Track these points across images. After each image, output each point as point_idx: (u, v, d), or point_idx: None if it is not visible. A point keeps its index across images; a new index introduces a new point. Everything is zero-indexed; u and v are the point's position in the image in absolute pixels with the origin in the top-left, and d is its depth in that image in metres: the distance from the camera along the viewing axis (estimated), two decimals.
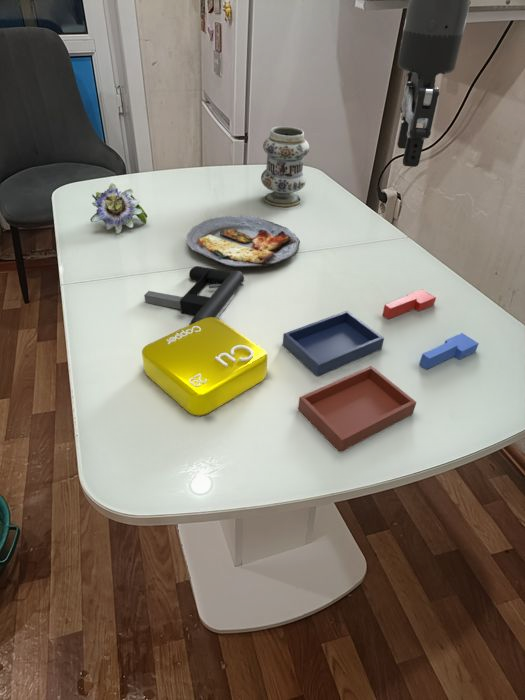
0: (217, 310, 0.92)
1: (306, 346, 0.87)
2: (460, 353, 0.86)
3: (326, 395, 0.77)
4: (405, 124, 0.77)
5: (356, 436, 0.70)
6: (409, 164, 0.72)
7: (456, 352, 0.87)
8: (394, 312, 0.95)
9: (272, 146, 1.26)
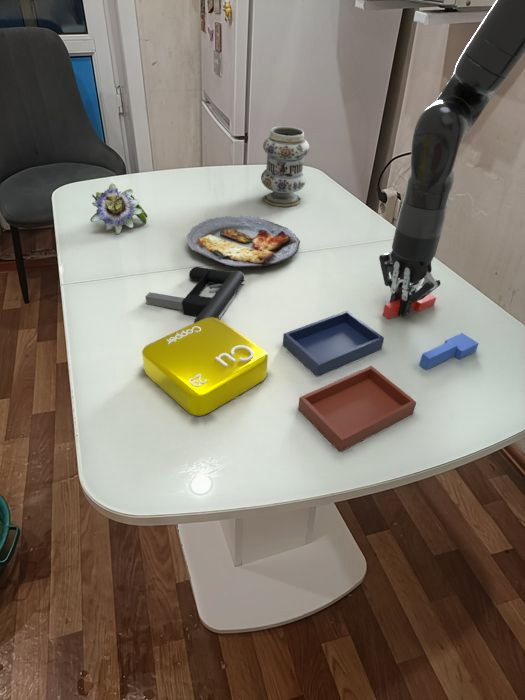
0: (219, 310, 0.92)
1: (306, 346, 0.87)
2: (460, 353, 0.86)
3: (326, 395, 0.77)
4: (397, 295, 0.96)
5: (356, 436, 0.70)
6: (403, 314, 0.96)
7: (456, 352, 0.87)
8: (394, 312, 0.95)
9: (272, 146, 1.26)
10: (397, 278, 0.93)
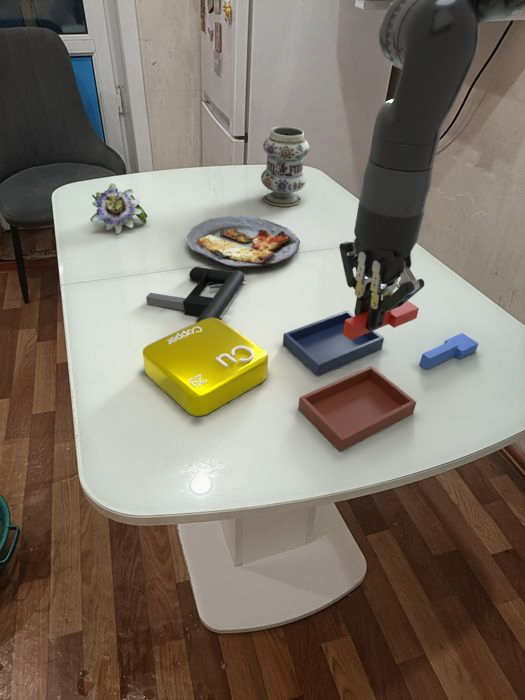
0: (221, 310, 0.92)
1: (306, 346, 0.87)
2: (460, 353, 0.86)
3: (326, 395, 0.77)
4: (364, 300, 0.67)
5: (356, 436, 0.70)
6: None
7: (456, 352, 0.87)
8: (358, 330, 0.68)
9: (272, 146, 1.26)
10: (363, 276, 0.65)
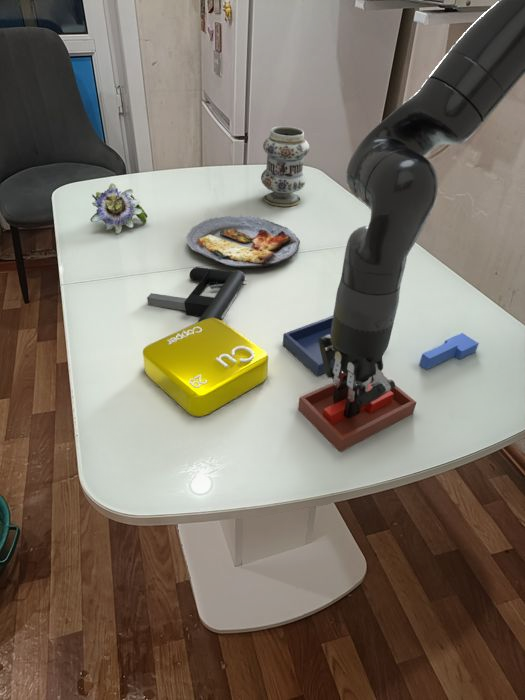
0: (222, 310, 0.92)
1: (306, 346, 0.87)
2: (460, 353, 0.86)
3: (326, 395, 0.77)
4: (341, 390, 0.72)
5: (356, 436, 0.70)
6: None
7: (456, 352, 0.87)
8: (337, 418, 0.72)
9: (272, 146, 1.26)
10: (340, 372, 0.69)
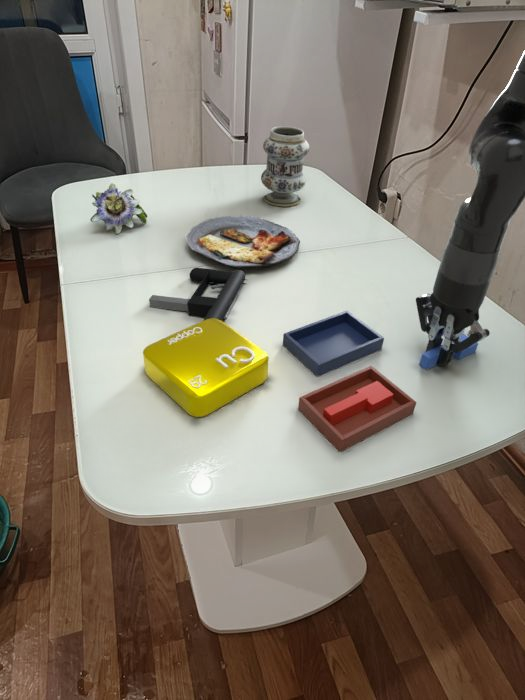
0: (226, 310, 0.92)
1: (306, 346, 0.87)
2: (460, 353, 0.86)
3: (326, 395, 0.77)
4: (436, 342, 0.84)
5: (356, 436, 0.70)
6: None
7: None
8: (337, 418, 0.72)
9: (272, 146, 1.26)
10: (437, 325, 0.82)
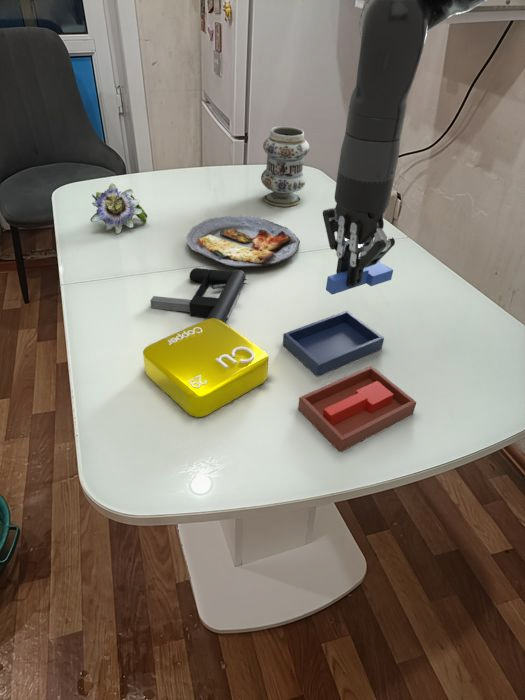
0: (228, 310, 0.92)
1: (306, 346, 0.87)
2: (371, 279, 0.79)
3: (326, 395, 0.77)
4: (344, 261, 0.77)
5: (356, 436, 0.70)
6: (353, 285, 0.77)
7: (368, 278, 0.79)
8: (337, 418, 0.72)
9: (272, 146, 1.26)
10: (343, 238, 0.74)
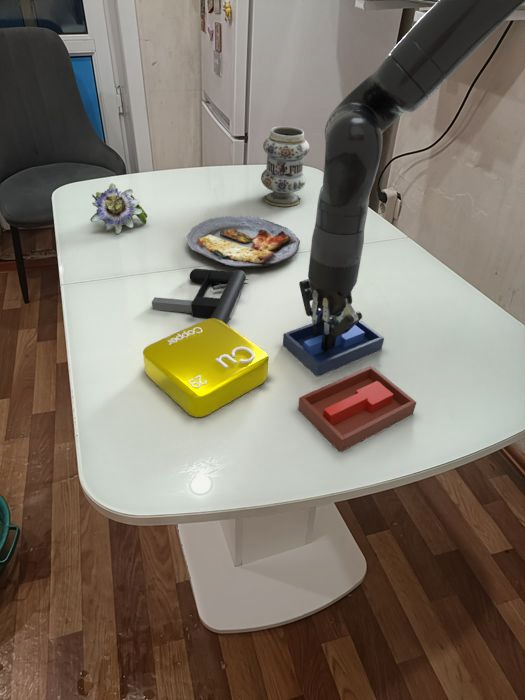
0: (230, 310, 0.92)
1: None
2: (344, 341, 0.87)
3: (326, 395, 0.77)
4: (319, 327, 0.84)
5: (356, 436, 0.70)
6: None
7: (341, 341, 0.87)
8: (337, 418, 0.72)
9: (272, 146, 1.26)
10: (317, 308, 0.82)
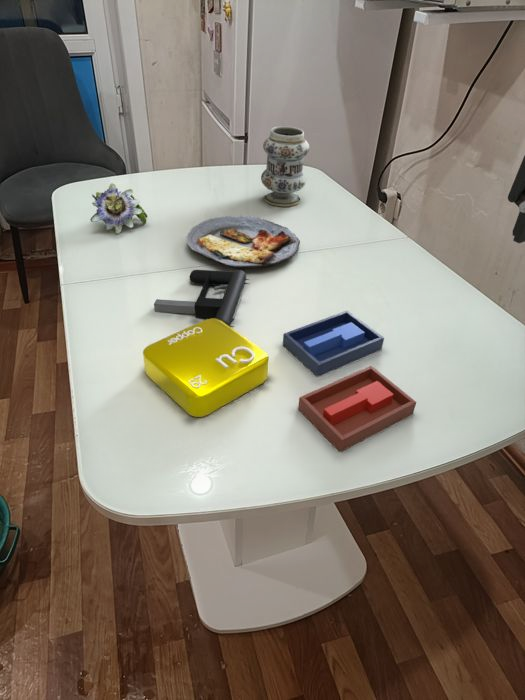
0: (234, 310, 0.92)
1: None
2: (344, 342, 0.87)
3: (326, 395, 0.77)
4: None
5: (356, 436, 0.70)
6: None
7: (341, 341, 0.87)
8: (337, 418, 0.72)
9: (272, 146, 1.26)
10: None
